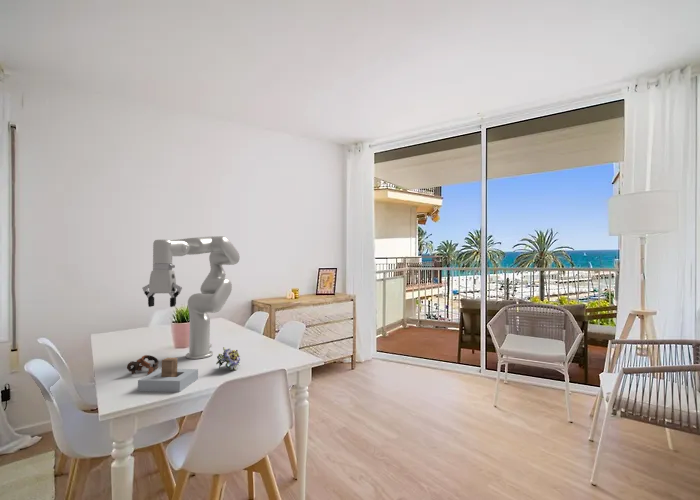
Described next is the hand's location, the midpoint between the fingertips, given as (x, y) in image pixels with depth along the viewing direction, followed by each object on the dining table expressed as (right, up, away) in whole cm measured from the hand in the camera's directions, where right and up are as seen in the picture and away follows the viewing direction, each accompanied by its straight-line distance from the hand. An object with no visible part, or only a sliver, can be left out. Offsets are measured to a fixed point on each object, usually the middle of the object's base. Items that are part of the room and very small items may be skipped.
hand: (162, 306), depth 154 cm
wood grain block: (+12, -28, -17) cm, 35 cm away
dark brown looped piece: (-7, -29, -3) cm, 29 cm away
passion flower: (+28, -29, +2) cm, 40 cm away
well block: (+12, -28, -17) cm, 35 cm away
